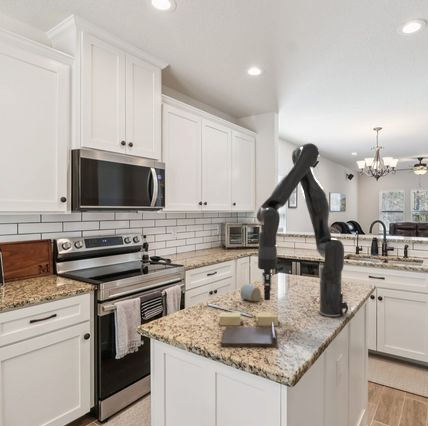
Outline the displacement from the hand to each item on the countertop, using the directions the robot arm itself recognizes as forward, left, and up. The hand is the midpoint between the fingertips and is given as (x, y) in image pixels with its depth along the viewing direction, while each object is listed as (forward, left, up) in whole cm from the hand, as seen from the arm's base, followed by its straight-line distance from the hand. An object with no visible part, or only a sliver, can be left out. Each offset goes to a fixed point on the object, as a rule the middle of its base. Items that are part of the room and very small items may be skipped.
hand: (266, 296), depth 121 cm
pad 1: (+15, 0, -11) cm, 18 cm away
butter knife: (+17, -15, -11) cm, 25 cm away
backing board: (+7, +14, -11) cm, 19 cm away
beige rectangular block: (0, 0, -11) cm, 11 cm away
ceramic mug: (+7, -32, -11) cm, 34 cm away
